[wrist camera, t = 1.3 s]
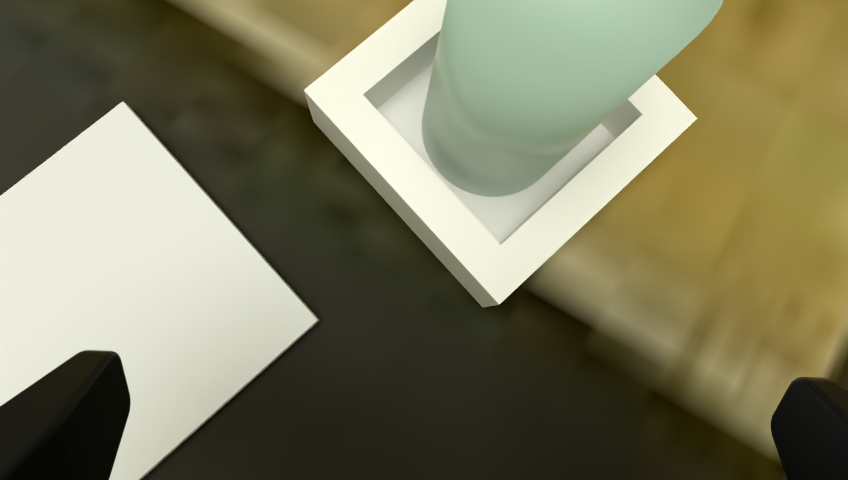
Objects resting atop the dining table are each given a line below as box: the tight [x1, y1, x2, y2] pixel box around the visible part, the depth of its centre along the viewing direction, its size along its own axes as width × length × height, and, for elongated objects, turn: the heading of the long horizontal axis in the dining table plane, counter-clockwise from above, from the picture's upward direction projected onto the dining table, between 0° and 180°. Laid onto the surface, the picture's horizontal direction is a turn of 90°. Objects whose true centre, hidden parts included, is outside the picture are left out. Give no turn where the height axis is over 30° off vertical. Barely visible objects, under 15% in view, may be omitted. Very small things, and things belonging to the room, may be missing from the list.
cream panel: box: [0, 102, 319, 480], centre depth 20 cm, size 10×10×1 cm
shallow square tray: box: [304, 0, 697, 307], centre depth 21 cm, size 9×9×3 cm
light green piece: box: [422, 0, 724, 197], centre depth 17 cm, size 5×5×11 cm
